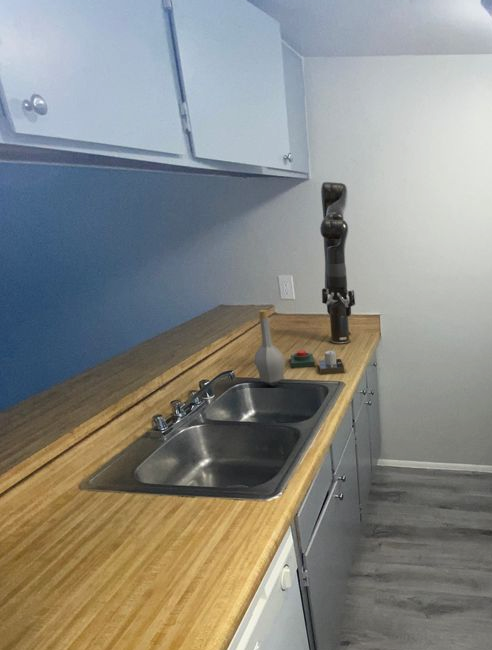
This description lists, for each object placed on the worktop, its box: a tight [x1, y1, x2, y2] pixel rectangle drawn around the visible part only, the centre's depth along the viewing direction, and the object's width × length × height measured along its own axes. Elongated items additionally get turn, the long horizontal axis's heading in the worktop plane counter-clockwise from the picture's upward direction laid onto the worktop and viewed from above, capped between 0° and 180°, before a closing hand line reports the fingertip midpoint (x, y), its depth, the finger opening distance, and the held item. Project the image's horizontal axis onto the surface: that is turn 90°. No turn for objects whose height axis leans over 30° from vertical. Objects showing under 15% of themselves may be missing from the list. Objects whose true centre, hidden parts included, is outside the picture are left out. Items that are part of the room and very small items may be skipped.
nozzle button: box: [296, 349, 307, 356], centre depth 213 cm, size 4×4×2 cm
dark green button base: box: [290, 352, 315, 369], centre depth 214 cm, size 12×10×4 cm
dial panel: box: [318, 358, 345, 375], centre depth 208 cm, size 12×10×3 cm
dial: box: [324, 350, 337, 365], centre depth 206 cm, size 5×5×5 cm
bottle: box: [253, 309, 286, 387], centre depth 182 cm, size 11×11×30 cm
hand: (339, 315), depth 197 cm, fingers open, 8 cm apart
